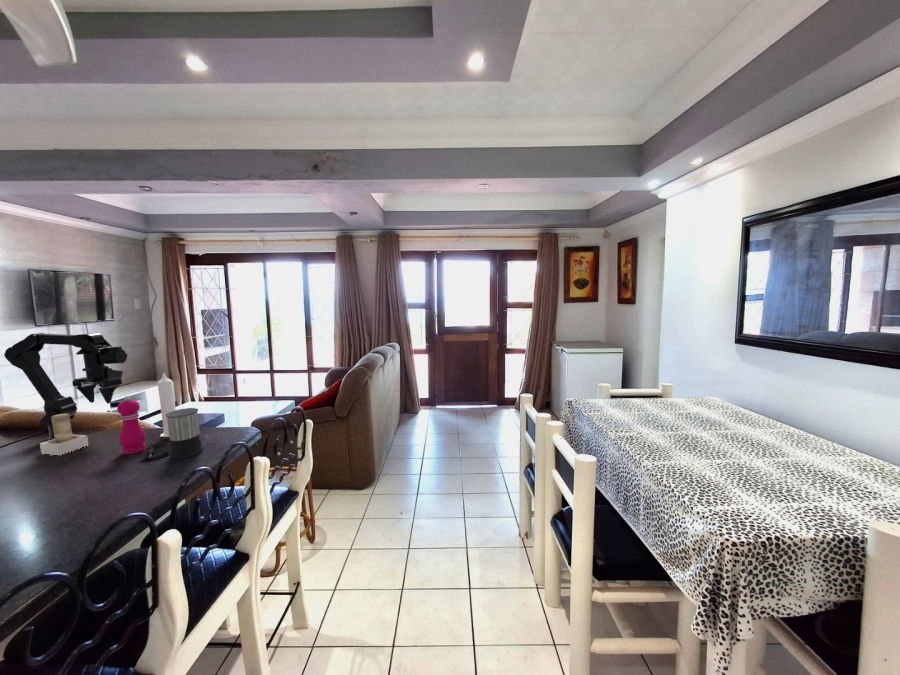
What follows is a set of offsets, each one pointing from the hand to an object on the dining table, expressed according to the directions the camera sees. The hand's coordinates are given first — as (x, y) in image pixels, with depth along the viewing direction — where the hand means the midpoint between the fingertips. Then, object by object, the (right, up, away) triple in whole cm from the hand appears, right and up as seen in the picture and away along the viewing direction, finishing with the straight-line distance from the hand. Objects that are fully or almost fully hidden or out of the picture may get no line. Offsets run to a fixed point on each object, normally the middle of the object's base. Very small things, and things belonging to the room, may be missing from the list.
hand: (100, 402), depth 149 cm
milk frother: (+46, -14, -22) cm, 52 cm away
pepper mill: (+29, -14, -17) cm, 36 cm away
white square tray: (+1, -15, -14) cm, 20 cm away
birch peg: (0, -15, -14) cm, 20 cm away
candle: (+30, -12, -2) cm, 33 cm away
